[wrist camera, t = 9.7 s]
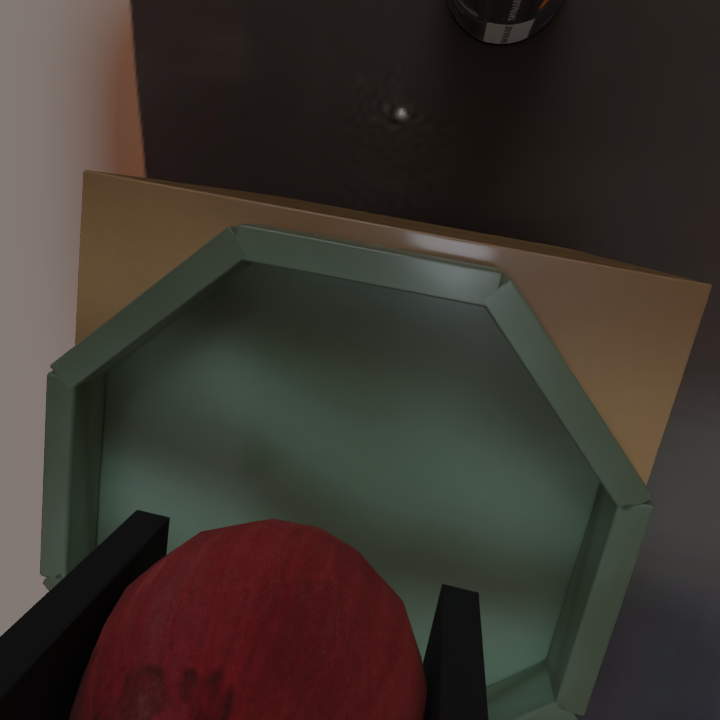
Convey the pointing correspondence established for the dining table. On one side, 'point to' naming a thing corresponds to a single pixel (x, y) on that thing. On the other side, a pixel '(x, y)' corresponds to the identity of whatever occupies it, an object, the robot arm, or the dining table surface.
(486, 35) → the pill bottle
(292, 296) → the stand
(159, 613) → the onion
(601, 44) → the dining table surface
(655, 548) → the dining table surface
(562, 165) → the dining table surface
